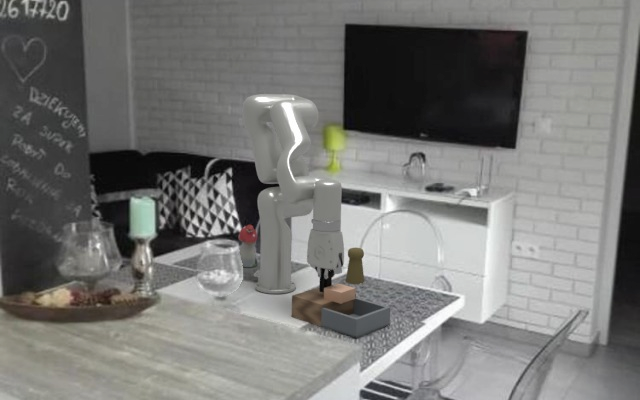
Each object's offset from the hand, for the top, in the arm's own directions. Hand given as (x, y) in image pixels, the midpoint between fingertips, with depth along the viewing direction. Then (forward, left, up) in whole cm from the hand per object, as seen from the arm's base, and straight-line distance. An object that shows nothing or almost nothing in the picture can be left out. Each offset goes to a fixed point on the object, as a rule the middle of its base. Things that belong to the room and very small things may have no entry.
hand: (325, 291), depth 196 cm
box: (+11, 0, -7) cm, 13 cm away
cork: (-16, +32, -7) cm, 37 cm away
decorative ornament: (-54, +20, -7) cm, 58 cm away
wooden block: (-1, 0, -7) cm, 7 cm away
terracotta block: (+5, 0, -1) cm, 5 cm away
